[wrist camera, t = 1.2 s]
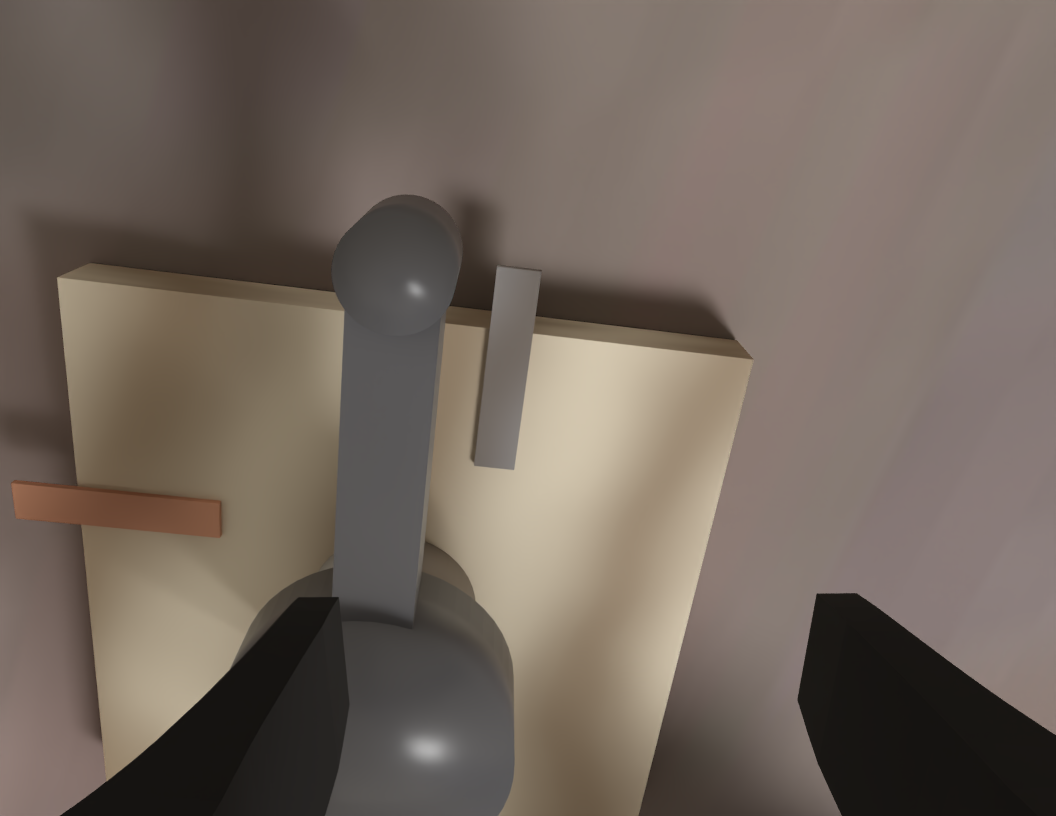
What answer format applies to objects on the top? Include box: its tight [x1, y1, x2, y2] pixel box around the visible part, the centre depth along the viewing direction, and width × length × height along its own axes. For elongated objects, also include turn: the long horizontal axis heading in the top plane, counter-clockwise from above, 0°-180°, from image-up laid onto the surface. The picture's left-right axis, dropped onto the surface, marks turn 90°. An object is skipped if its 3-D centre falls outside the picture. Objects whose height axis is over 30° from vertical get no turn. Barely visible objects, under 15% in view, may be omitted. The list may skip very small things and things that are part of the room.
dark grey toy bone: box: [230, 195, 515, 816], centre depth 16 cm, size 14×6×3 cm, turn 173°
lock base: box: [11, 263, 754, 816], centre depth 20 cm, size 18×18×4 cm
